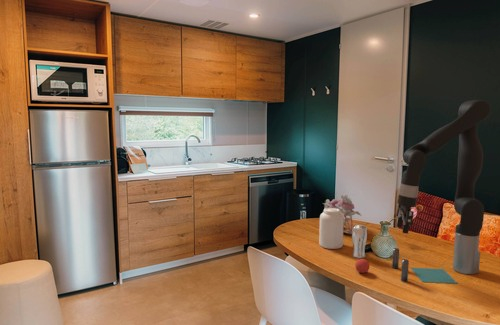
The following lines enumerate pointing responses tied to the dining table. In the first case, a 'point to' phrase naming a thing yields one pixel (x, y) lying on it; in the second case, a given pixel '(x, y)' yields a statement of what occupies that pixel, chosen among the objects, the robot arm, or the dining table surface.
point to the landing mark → (433, 275)
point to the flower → (343, 209)
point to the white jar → (331, 229)
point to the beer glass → (359, 240)
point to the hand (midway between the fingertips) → (402, 230)
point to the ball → (362, 265)
